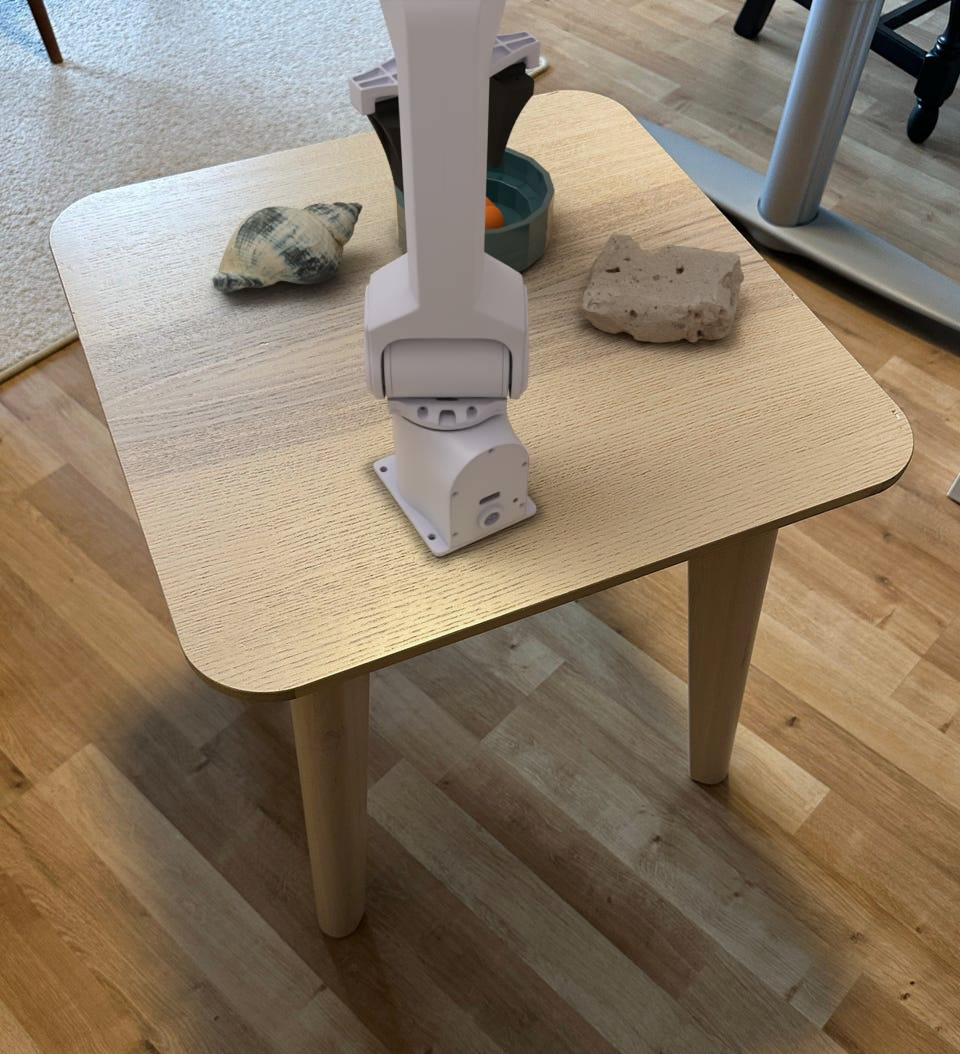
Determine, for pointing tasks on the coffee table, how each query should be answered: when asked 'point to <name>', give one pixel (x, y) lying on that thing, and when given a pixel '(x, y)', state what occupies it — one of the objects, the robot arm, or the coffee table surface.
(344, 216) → the seashell
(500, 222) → the orange capsule pill
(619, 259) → the stone
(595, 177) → the coffee table surface
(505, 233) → the bowl
